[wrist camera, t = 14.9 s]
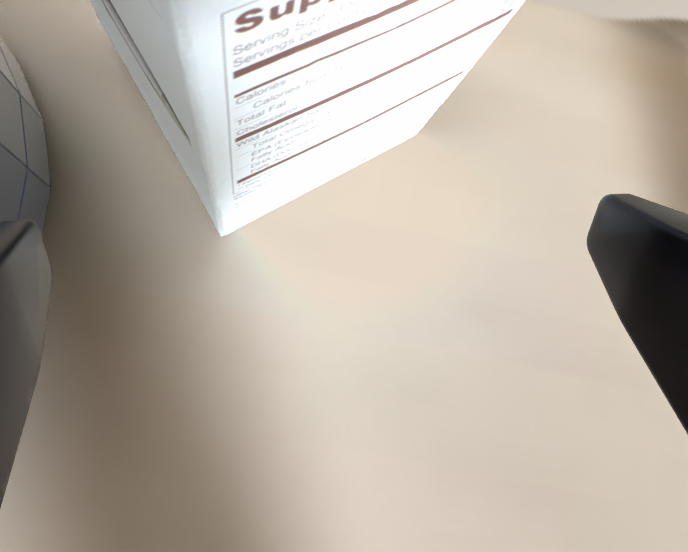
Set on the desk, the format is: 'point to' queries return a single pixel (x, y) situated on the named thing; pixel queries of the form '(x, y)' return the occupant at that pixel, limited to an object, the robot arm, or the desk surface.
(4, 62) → the basin
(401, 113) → the white packaging box
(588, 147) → the desk surface
